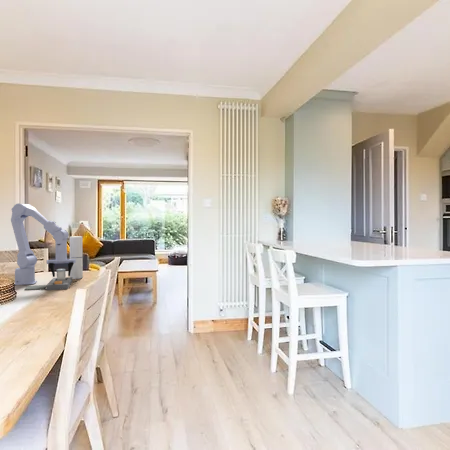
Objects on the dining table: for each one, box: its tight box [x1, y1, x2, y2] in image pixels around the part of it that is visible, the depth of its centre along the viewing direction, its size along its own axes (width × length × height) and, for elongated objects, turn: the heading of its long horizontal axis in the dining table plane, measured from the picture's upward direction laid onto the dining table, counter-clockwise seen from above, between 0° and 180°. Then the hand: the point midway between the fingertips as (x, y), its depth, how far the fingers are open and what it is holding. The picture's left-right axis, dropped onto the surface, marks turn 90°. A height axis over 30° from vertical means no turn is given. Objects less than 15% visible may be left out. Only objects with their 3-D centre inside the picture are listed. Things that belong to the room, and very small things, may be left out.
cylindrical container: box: [69, 235, 84, 280], centre depth 218 cm, size 7×7×25 cm
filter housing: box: [45, 276, 73, 291], centre depth 195 cm, size 10×22×2 cm, turn 17°
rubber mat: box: [24, 284, 47, 291], centre depth 188 cm, size 9×9×1 cm
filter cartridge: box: [55, 268, 67, 280], centre depth 199 cm, size 5×5×8 cm
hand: (61, 276), depth 199 cm, fingers open, 7 cm apart
